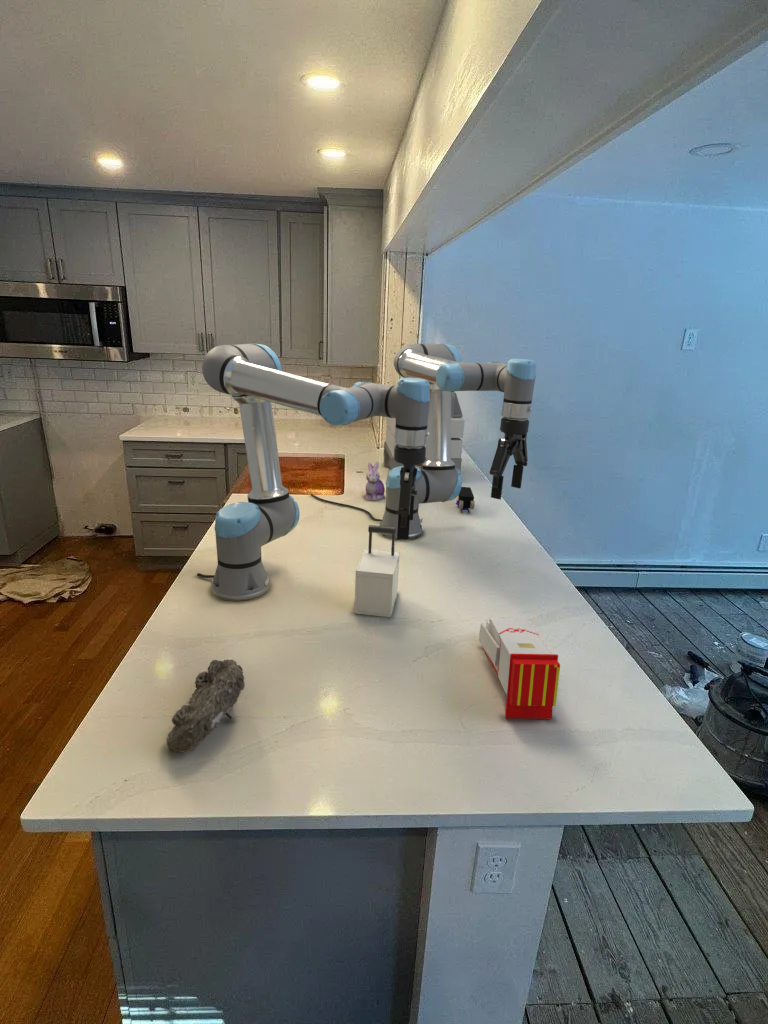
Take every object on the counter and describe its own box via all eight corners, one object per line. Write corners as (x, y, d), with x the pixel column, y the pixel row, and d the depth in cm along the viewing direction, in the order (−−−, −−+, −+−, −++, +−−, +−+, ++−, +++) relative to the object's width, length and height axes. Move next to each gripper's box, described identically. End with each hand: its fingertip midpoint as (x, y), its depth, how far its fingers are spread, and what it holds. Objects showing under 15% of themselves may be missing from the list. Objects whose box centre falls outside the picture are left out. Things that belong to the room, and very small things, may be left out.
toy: (525, 603, 136) (569, 660, 107) (520, 654, 139) (562, 725, 109) (475, 601, 135) (505, 659, 106) (471, 653, 138) (499, 724, 109)
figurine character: (474, 518, 222) (469, 501, 235) (476, 500, 218) (471, 485, 232) (457, 517, 222) (452, 501, 235) (459, 500, 218) (454, 484, 232)
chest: (363, 589, 159) (364, 554, 156) (397, 593, 158) (399, 557, 154) (354, 613, 147) (355, 575, 143) (390, 617, 146) (392, 579, 142)
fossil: (192, 660, 117) (244, 628, 112) (224, 691, 120) (276, 661, 115) (142, 746, 98) (202, 712, 93) (182, 779, 101) (242, 748, 96)
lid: (365, 553, 156) (366, 521, 153) (399, 556, 155) (401, 524, 152) (355, 575, 143) (356, 541, 140) (392, 579, 142) (394, 544, 139)
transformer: (382, 463, 289) (386, 382, 275) (445, 464, 293) (451, 384, 279) (390, 482, 257) (394, 392, 243) (460, 483, 261) (468, 394, 247)
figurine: (369, 502, 230) (370, 466, 225) (359, 494, 239) (360, 460, 234) (390, 499, 234) (391, 464, 229) (378, 492, 243) (380, 458, 238)
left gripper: (423, 459, 122) (416, 549, 129) (428, 435, 145) (423, 513, 153) (388, 457, 123) (384, 546, 130) (399, 433, 146) (395, 511, 153)
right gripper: (509, 426, 142) (499, 506, 149) (545, 414, 161) (535, 485, 168) (482, 422, 146) (474, 500, 153) (520, 410, 165) (511, 480, 172)
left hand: (405, 528), depth 141 cm, fingers open, 13 cm apart
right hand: (506, 492), depth 161 cm, fingers open, 13 cm apart
